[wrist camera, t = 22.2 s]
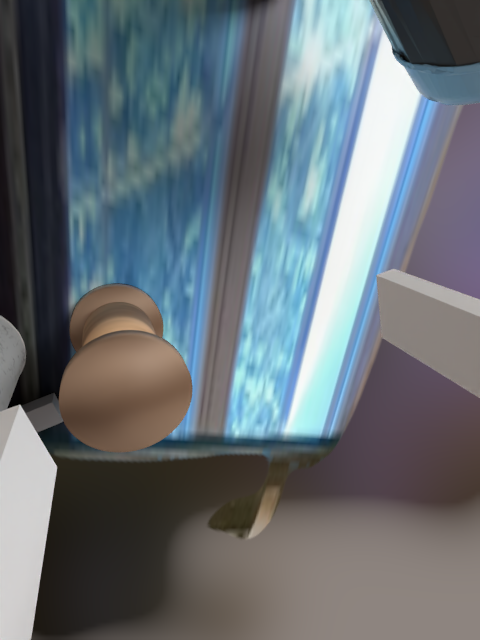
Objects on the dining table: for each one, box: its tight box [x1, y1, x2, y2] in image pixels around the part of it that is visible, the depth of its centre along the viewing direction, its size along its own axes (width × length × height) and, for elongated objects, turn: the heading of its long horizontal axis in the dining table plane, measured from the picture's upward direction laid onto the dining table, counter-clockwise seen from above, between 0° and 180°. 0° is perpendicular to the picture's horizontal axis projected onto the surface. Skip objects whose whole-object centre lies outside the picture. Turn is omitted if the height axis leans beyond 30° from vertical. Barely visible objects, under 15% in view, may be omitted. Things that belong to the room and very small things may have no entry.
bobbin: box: [59, 283, 192, 452], centre depth 34 cm, size 9×9×15 cm
